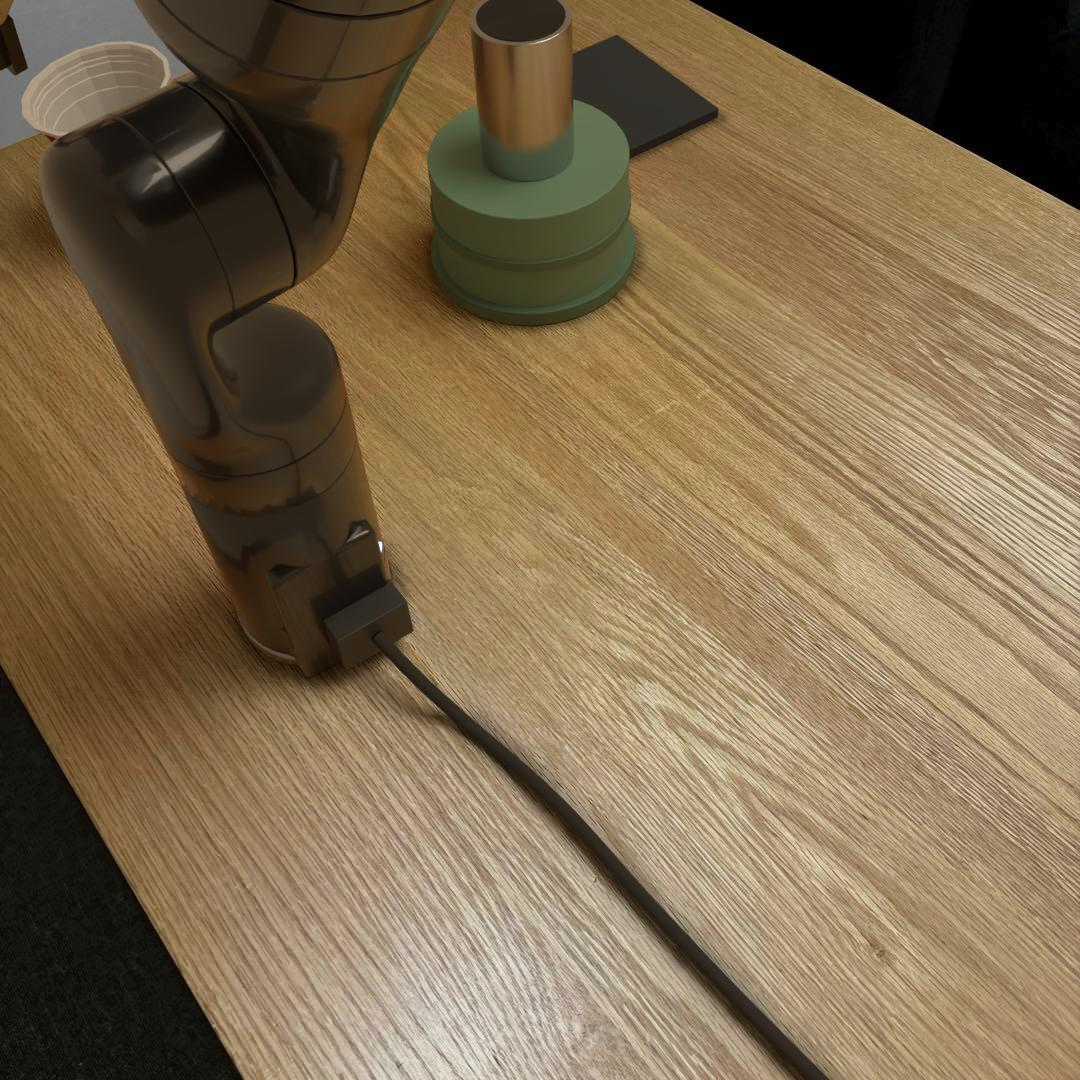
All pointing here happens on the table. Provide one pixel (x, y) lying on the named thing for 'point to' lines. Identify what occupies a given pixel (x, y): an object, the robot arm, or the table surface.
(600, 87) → the mat
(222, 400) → the robot arm
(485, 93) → the steel cup
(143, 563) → the table surface
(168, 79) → the plastic cup
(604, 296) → the sage green puck
